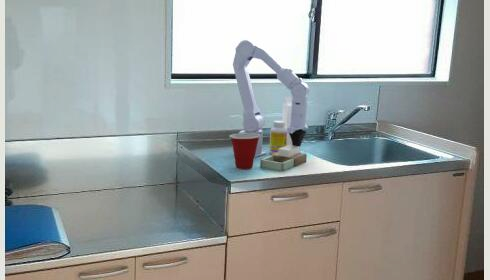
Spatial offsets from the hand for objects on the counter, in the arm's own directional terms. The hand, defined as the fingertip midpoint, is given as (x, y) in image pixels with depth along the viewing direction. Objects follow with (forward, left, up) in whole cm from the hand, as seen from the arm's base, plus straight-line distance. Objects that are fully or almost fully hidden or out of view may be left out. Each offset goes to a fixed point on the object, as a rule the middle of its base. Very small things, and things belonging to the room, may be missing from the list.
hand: (296, 149), depth 206 cm
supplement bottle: (-10, +4, -4) cm, 12 cm away
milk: (-9, +13, -4) cm, 16 cm away
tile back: (0, -4, -1) cm, 4 cm away
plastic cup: (-9, -25, -4) cm, 27 cm away
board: (0, -7, -4) cm, 8 cm away
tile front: (0, -9, -1) cm, 9 cm away
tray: (0, -16, -4) cm, 17 cm away
